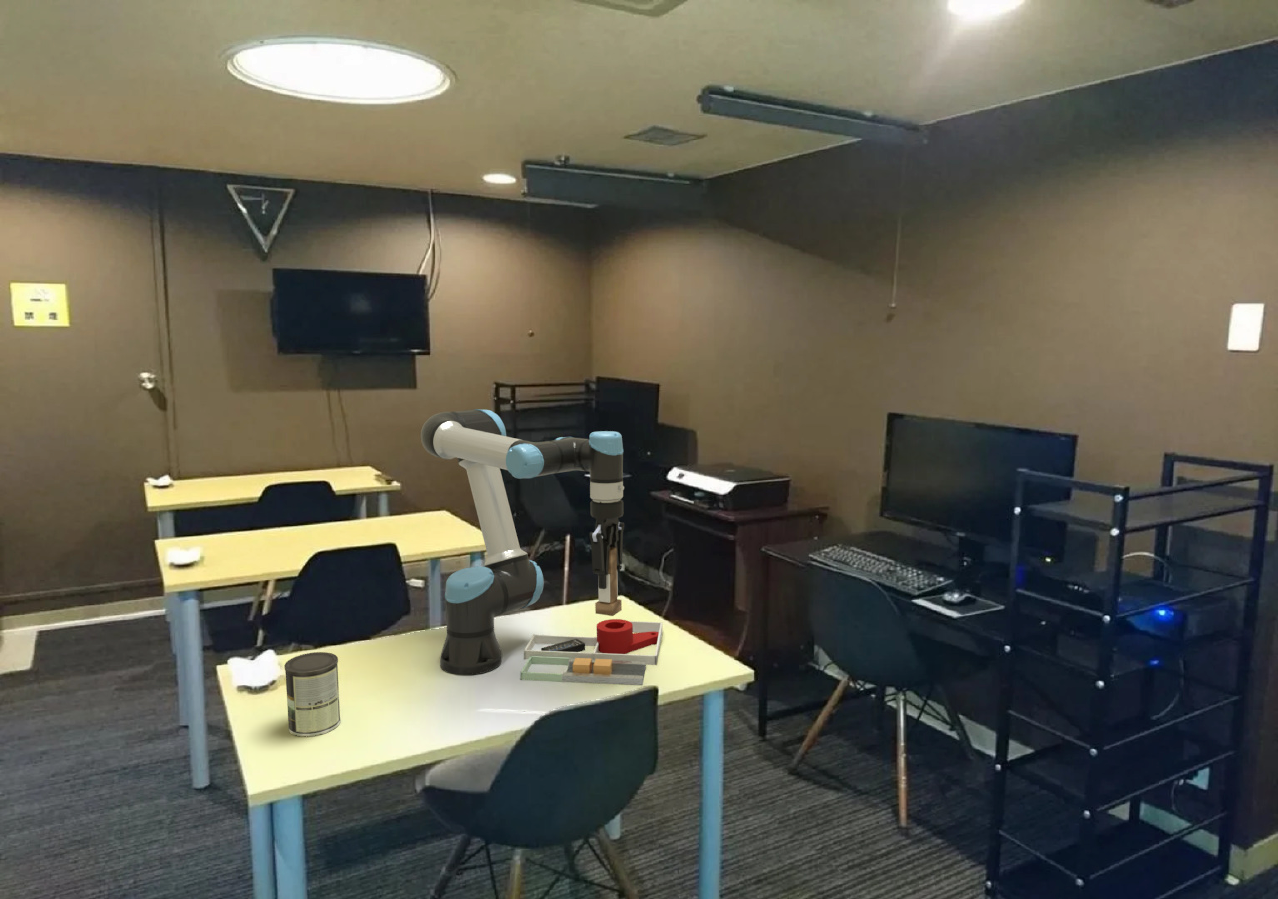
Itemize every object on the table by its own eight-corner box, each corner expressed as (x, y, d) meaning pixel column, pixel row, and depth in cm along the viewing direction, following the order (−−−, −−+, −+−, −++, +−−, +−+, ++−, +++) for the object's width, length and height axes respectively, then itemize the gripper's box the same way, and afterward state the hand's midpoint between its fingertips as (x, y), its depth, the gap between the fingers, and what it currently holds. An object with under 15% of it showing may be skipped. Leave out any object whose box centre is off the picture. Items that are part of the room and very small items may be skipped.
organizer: (524, 662, 200) (523, 650, 200) (543, 628, 224) (543, 617, 224) (656, 667, 197) (656, 656, 197) (662, 632, 221) (662, 622, 221)
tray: (520, 682, 188) (520, 672, 188) (530, 665, 198) (529, 656, 198) (562, 684, 187) (562, 674, 187) (569, 667, 197) (569, 657, 197)
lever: (606, 659, 202) (605, 634, 201) (591, 647, 210) (590, 622, 209) (668, 646, 210) (667, 622, 209) (651, 635, 218) (651, 611, 217)
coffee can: (276, 731, 164) (272, 666, 162) (314, 710, 174) (311, 648, 172) (315, 741, 160) (311, 675, 158) (351, 719, 170) (348, 656, 168)
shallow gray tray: (562, 684, 187) (562, 675, 187) (569, 667, 197) (569, 658, 197) (642, 688, 186) (642, 679, 185) (645, 670, 196) (645, 661, 195)
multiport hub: (540, 656, 203) (540, 648, 203) (576, 646, 210) (576, 638, 210) (549, 662, 200) (549, 653, 200) (585, 652, 207) (585, 643, 206)
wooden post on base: (612, 616, 181) (612, 552, 180) (595, 613, 183) (594, 550, 181) (621, 610, 185) (620, 547, 184) (604, 607, 187) (603, 545, 185)
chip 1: (572, 676, 190) (572, 664, 190) (575, 669, 194) (575, 657, 194) (589, 677, 190) (589, 665, 189) (591, 670, 194) (591, 658, 193)
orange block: (593, 677, 190) (593, 665, 189) (595, 670, 194) (595, 658, 193) (610, 678, 189) (610, 666, 189) (612, 671, 193) (612, 659, 193)
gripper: (605, 507, 172) (607, 611, 175) (636, 494, 187) (637, 591, 190) (575, 504, 175) (577, 607, 178) (608, 492, 190) (609, 587, 193)
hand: (608, 599), depth 184 cm, fingers closed on wooden post on base, 3 cm apart
